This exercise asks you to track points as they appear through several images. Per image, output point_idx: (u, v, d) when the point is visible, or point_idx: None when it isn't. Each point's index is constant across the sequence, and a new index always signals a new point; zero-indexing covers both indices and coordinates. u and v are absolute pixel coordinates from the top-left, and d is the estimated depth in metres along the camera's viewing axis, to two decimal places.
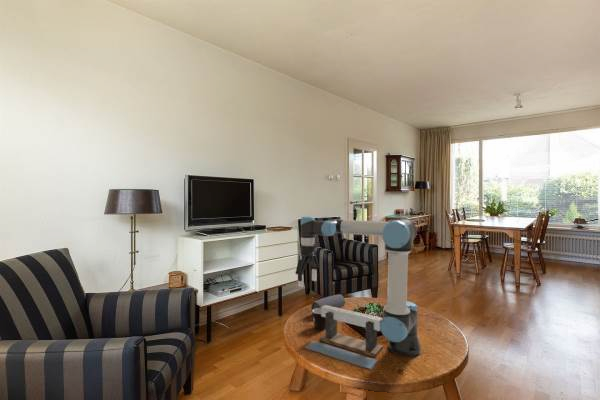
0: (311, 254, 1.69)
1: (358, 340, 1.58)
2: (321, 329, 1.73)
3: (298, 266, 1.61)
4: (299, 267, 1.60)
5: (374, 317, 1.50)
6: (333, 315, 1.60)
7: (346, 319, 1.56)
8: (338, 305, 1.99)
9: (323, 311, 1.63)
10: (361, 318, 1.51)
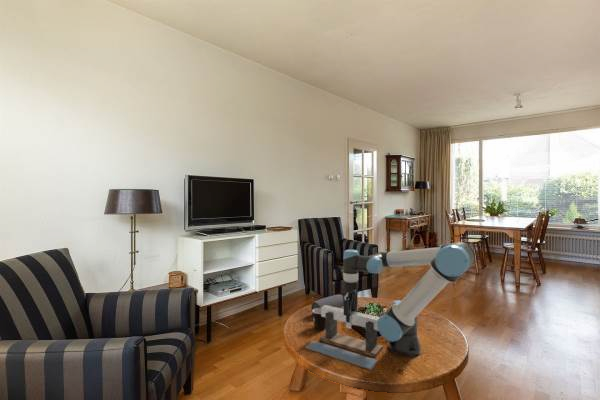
0: (354, 289, 1.58)
1: (358, 340, 1.58)
2: (321, 329, 1.73)
3: (345, 307, 1.52)
4: (346, 309, 1.52)
5: (374, 317, 1.50)
6: (333, 315, 1.60)
7: None
8: (338, 305, 1.99)
9: (323, 311, 1.63)
10: (361, 318, 1.51)
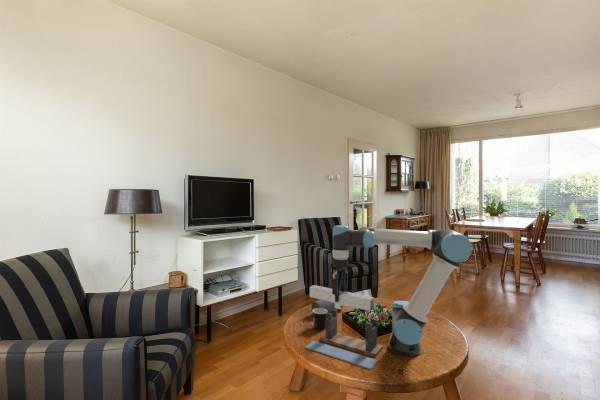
0: (344, 267, 1.48)
1: (358, 340, 1.58)
2: (321, 329, 1.73)
3: (333, 286, 1.42)
4: (335, 287, 1.42)
5: (364, 296, 1.40)
6: (322, 295, 1.50)
7: None
8: None
9: (312, 291, 1.54)
10: (351, 298, 1.41)
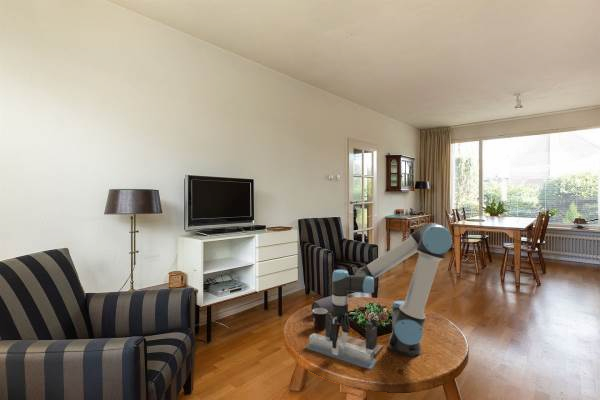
0: (344, 313, 1.48)
1: (358, 340, 1.58)
2: (321, 329, 1.73)
3: (332, 332, 1.41)
4: (333, 333, 1.40)
5: (364, 349, 1.40)
6: (322, 345, 1.50)
7: None
8: None
9: (311, 340, 1.53)
10: (351, 351, 1.41)
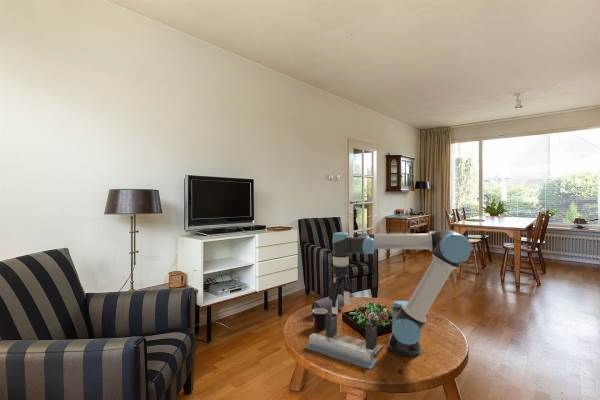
0: (344, 275, 1.49)
1: (358, 340, 1.58)
2: (321, 329, 1.73)
3: (332, 290, 1.41)
4: (333, 291, 1.40)
5: (364, 349, 1.40)
6: (322, 345, 1.50)
7: (335, 351, 1.46)
8: (338, 305, 1.99)
9: (311, 340, 1.53)
10: (351, 351, 1.41)
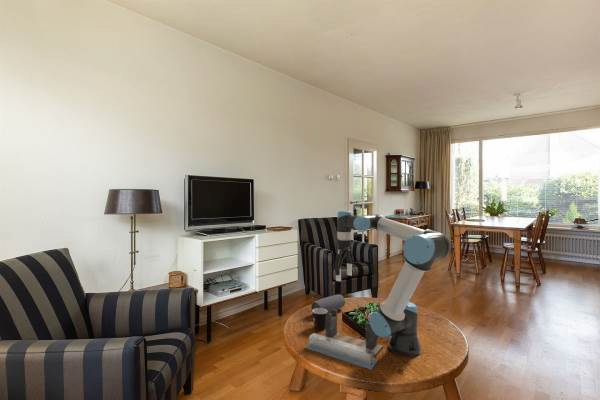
0: (347, 248, 1.69)
1: (358, 340, 1.58)
2: (321, 329, 1.73)
3: (336, 260, 1.61)
4: (337, 261, 1.61)
5: (364, 349, 1.40)
6: (322, 345, 1.50)
7: (335, 351, 1.46)
8: (338, 305, 1.99)
9: (311, 340, 1.53)
10: (351, 351, 1.41)
